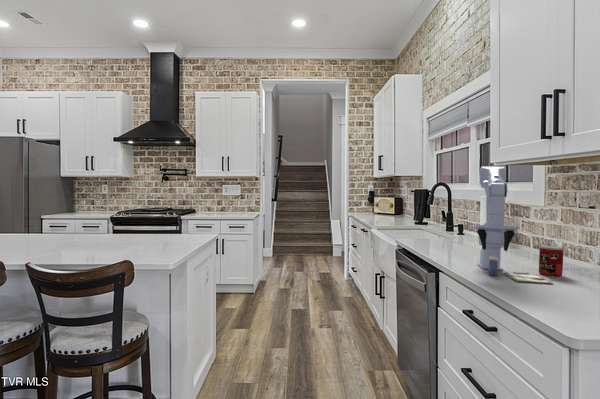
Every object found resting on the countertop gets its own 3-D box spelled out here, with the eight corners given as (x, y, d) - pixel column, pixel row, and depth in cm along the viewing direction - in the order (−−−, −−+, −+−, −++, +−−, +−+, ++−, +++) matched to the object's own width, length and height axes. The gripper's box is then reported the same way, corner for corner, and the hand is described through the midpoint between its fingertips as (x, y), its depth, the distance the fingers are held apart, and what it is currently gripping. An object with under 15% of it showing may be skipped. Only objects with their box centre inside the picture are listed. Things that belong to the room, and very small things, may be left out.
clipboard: (503, 273, 154) (503, 271, 154) (537, 275, 152) (537, 273, 152) (516, 282, 140) (516, 279, 140) (553, 284, 138) (553, 281, 138)
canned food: (534, 273, 156) (535, 245, 156) (548, 272, 159) (549, 245, 159) (552, 277, 149) (553, 248, 149) (567, 276, 152) (568, 248, 152)
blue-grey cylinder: (487, 274, 153) (488, 256, 152) (496, 274, 152) (496, 256, 152) (489, 275, 150) (490, 257, 149) (498, 276, 149) (499, 258, 149)
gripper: (478, 214, 147) (477, 250, 148) (520, 215, 144) (519, 252, 145) (473, 213, 154) (472, 247, 154) (514, 214, 151) (512, 249, 152)
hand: (494, 249), depth 150 cm, fingers open, 7 cm apart
